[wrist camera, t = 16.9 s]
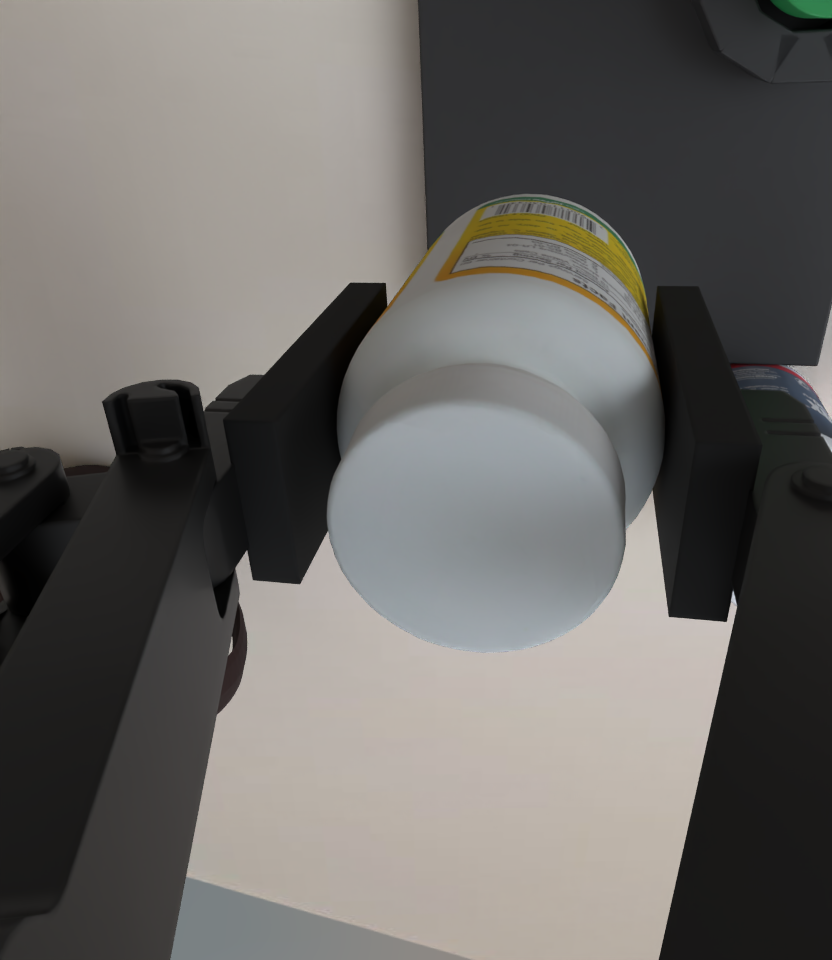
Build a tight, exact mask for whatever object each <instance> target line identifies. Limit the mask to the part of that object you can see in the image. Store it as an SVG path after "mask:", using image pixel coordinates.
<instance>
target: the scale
mask: <svg viewBox="0 0 832 960" xmlns="http://www.w3.org/2000/svg"><path fill="white" fill-rule="evenodd" d="M418 11H419V38H420V64H421V91H422V117H423V144H424V170H425V197H426V223H427V249H428V250H429V248H430V247H431V246H432V244H433V243H434V242H435V241H436V240H437V238H438V237H439V236H440V235H441V234H442V233H443V232H444V230H445V229H446V228H447V227H448V226H449V225H451V224H452V223H453V222H454V221H455V220H456V219H458V218H459V217H460V216H462V215H463V214H465V213H466V212H468V211H470V210H471V209H473V208H475V207H477V206H479V205H481V204H483V203H485V202H488V201H491V200H494V199H498V198H501V197H506V196H511V195H519V194H541V195H549V196H554V197H558V198H562V199H565V200H568V201H571V202H574V203H576V204H579V205H581V206H583V207H585V208H587V209H588V210H590V211H592V212H593V213H595V214H596V215H598V216H599V217H600V218H602V219H603V220H604V221H605V222H607V223H608V224H609V225H610V226H611V227H612V228H613V229H614V230H615V231H616V232H617V233H618V235H619V236H620V237H621V238H622V240H623V241H624V242H625V244H626V245H627V246H628V248H629V250H630V251H631V253H632V255H633V257H634V259H635V261H636V263H637V266H638V269H639V271H640V275H641V278H642V281H643V285H644V289H645V294H646V301H647V309H648V316H649V322H650V329H651V336H652V329H653V320H654V311H655V302H656V293H657V286H699V289H700V291H701V294H702V296H703V299H704V301H705V303H706V306H707V308H708V311H709V313H710V316H711V318H712V321H713V323H714V326H715V328H716V331H717V333H718V336H719V338H720V341H721V343H722V346H723V348H724V351H725V353H726V356H727V358H728V360H729V363H731V364H765V365H799V366H817V365H818V362H819V357H820V353H821V349H822V344H823V340H824V336H825V331H826V327H827V323H828V318H829V314H830V310H831V305H832V18H799V17H794V16H791V15H788V14H786V13H785V12H783V11H781V10H780V9H778V8H777V7H776V6H775V5H774V4H773V3H772V2H771V1H770V0H418Z"/></svg>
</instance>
